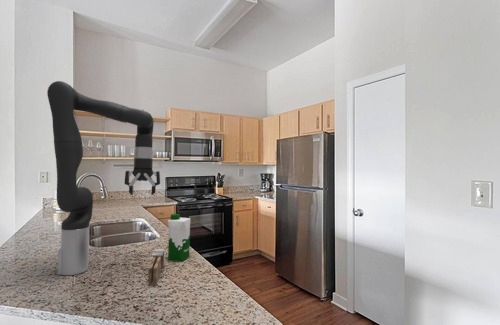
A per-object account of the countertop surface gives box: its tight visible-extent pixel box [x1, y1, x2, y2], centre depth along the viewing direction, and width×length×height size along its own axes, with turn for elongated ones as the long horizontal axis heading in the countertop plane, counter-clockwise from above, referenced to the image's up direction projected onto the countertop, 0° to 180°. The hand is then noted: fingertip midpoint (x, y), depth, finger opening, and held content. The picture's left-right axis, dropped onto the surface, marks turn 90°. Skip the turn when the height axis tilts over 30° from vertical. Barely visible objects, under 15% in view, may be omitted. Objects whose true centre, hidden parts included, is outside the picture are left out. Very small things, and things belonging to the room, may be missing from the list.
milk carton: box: [167, 213, 191, 263], centre depth 118 cm, size 9×9×20 cm
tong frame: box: [147, 248, 165, 287], centre depth 99 cm, size 20×4×7 cm, turn 14°
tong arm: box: [152, 256, 162, 286], centre depth 97 cm, size 16×3×6 cm, turn 12°
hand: (142, 194), depth 112 cm, fingers open, 8 cm apart
